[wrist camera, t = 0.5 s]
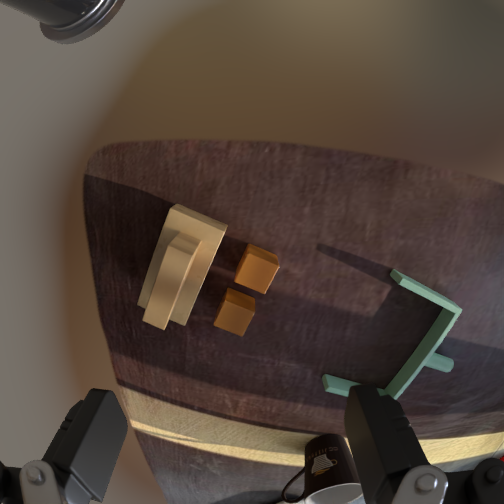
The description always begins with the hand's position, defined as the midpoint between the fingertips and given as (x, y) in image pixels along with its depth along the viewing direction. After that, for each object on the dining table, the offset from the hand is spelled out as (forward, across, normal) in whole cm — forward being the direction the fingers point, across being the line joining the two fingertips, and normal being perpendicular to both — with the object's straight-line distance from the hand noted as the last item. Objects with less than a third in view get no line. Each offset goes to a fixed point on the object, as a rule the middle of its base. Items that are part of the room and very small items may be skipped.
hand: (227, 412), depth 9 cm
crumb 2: (+21, -1, +2) cm, 21 cm away
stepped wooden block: (+21, +6, +2) cm, 22 cm away
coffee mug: (+21, -8, +33) cm, 40 cm away
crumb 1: (+21, +1, +7) cm, 22 cm away
